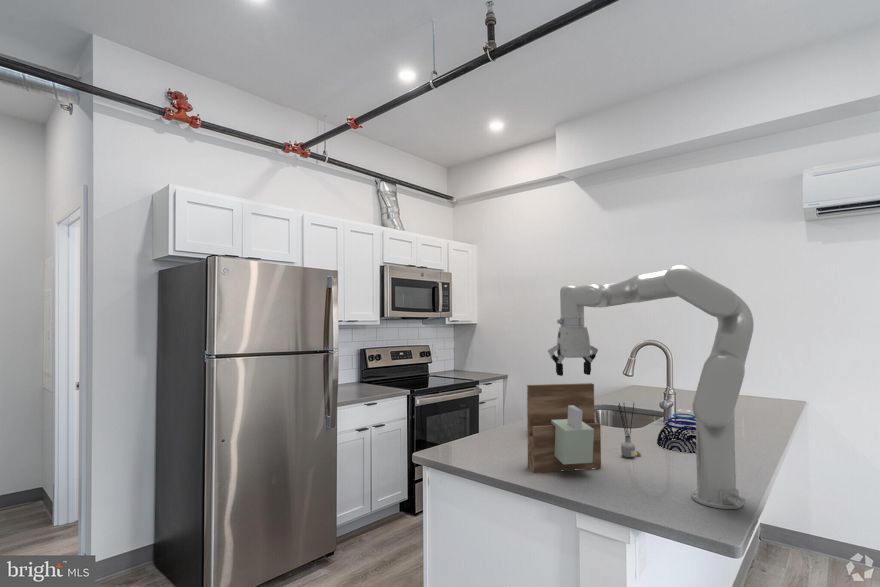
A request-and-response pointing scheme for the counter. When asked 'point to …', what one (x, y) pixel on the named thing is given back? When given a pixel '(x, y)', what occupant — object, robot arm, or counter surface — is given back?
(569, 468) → the wooden board stand
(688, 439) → the decorative bowl
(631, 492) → the counter surface
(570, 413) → the pale green pegged cube
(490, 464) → the counter surface
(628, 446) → the reed diffuser
